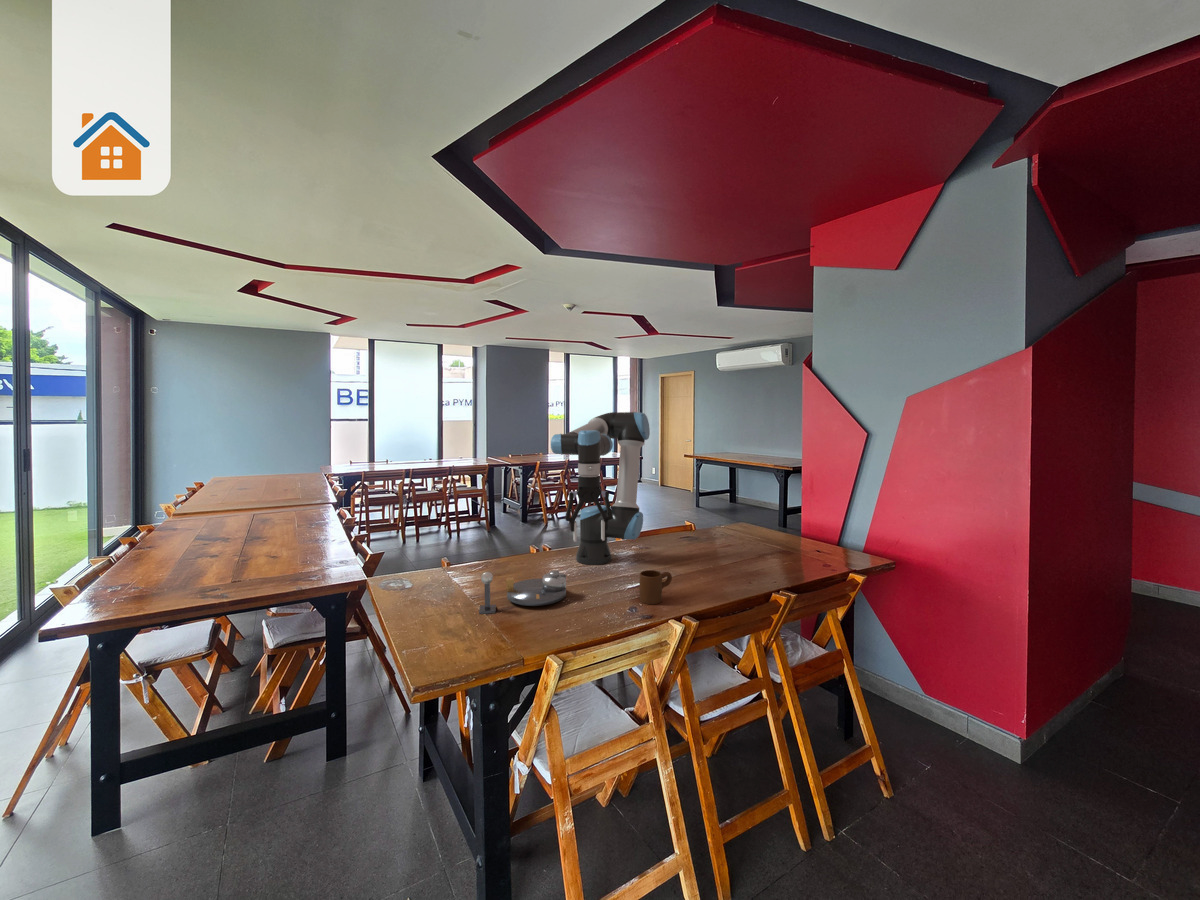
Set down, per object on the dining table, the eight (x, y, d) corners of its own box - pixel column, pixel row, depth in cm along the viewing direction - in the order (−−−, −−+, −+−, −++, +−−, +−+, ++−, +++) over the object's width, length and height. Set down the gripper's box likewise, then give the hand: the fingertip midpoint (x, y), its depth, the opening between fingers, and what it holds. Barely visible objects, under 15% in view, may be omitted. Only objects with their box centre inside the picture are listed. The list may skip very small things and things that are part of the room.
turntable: (507, 585, 176) (506, 569, 176) (563, 582, 179) (563, 566, 179) (505, 607, 156) (505, 589, 156) (568, 603, 160) (568, 585, 159)
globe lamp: (480, 607, 159) (479, 569, 158) (495, 606, 160) (495, 568, 159) (479, 614, 155) (478, 574, 154) (495, 613, 155) (494, 573, 154)
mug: (665, 593, 173) (665, 567, 172) (677, 600, 166) (677, 573, 165) (635, 598, 168) (635, 571, 167) (646, 606, 161) (646, 578, 160)
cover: (542, 584, 172) (541, 568, 172) (564, 583, 173) (564, 567, 173) (543, 592, 164) (543, 576, 164) (567, 591, 165) (567, 575, 165)
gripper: (558, 477, 162) (558, 544, 164) (622, 476, 166) (622, 541, 168) (556, 474, 170) (556, 538, 171) (617, 473, 173) (617, 536, 175)
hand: (589, 540), depth 169 cm, fingers open, 9 cm apart
